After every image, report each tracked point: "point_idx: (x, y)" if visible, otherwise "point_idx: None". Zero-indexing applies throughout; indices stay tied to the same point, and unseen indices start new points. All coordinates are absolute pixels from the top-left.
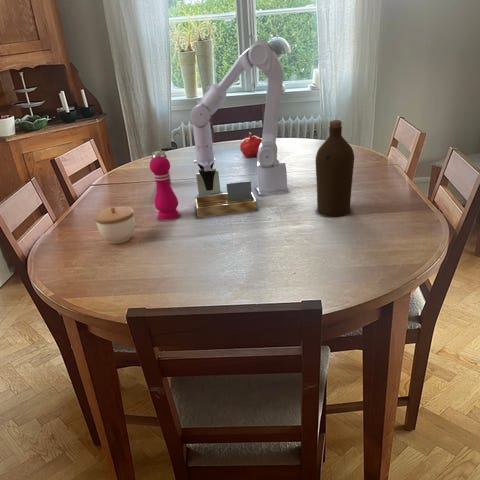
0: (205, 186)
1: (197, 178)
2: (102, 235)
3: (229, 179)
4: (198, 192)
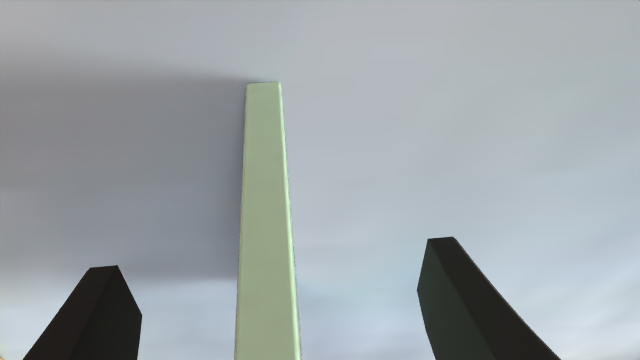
0: (50, 324)
1: (237, 325)
2: None
3: (633, 311)
4: (245, 112)
